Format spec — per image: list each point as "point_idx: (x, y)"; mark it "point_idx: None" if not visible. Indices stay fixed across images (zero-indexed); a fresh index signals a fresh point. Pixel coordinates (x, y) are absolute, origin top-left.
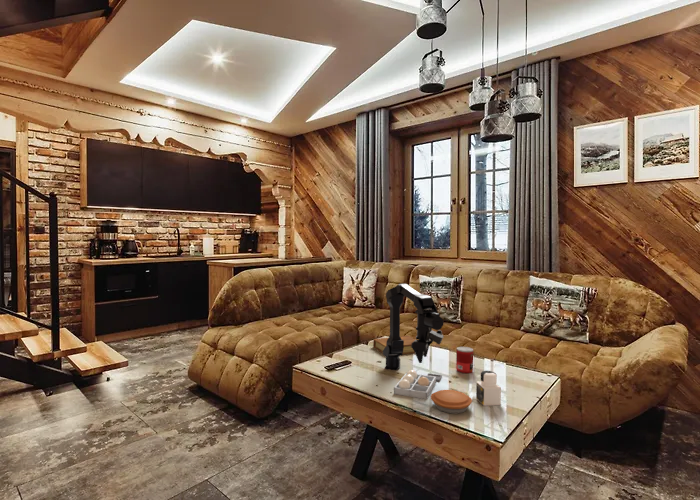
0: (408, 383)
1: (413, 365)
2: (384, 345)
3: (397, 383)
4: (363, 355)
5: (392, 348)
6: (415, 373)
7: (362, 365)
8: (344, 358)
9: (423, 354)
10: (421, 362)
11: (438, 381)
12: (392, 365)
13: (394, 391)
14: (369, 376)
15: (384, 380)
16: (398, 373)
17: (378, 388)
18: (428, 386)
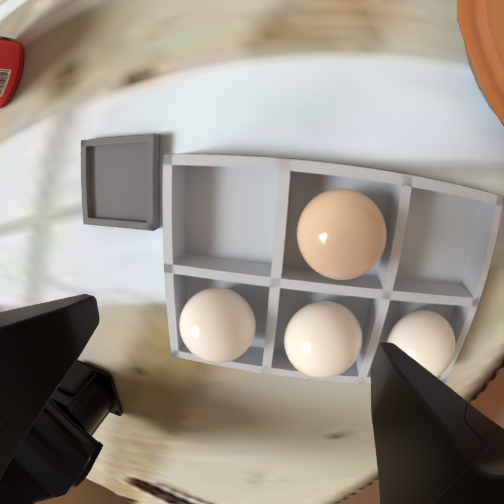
0: (446, 333)
1: (29, 302)
2: None
3: None
4: None
5: (80, 473)
6: (224, 313)
7: (140, 462)
8: (121, 483)
9: (84, 341)
10: (395, 347)
11: (159, 141)
12: (103, 400)
13: None
14: (238, 459)
15: (263, 420)
16: (141, 369)
17: None
18: (402, 188)
